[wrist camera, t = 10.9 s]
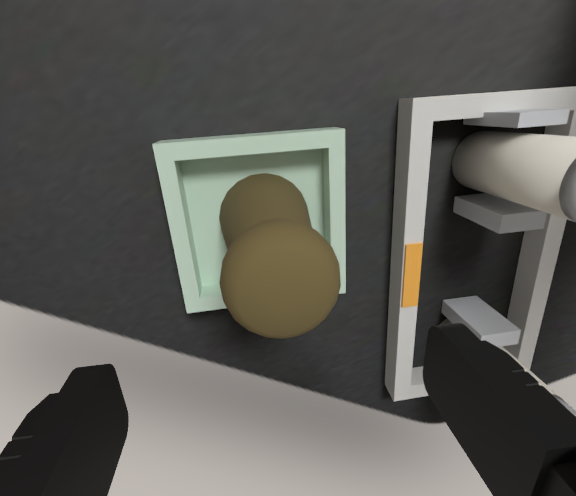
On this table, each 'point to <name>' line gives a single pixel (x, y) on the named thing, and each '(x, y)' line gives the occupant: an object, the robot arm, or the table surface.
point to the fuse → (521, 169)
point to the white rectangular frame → (480, 209)
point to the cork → (275, 259)
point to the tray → (225, 174)
